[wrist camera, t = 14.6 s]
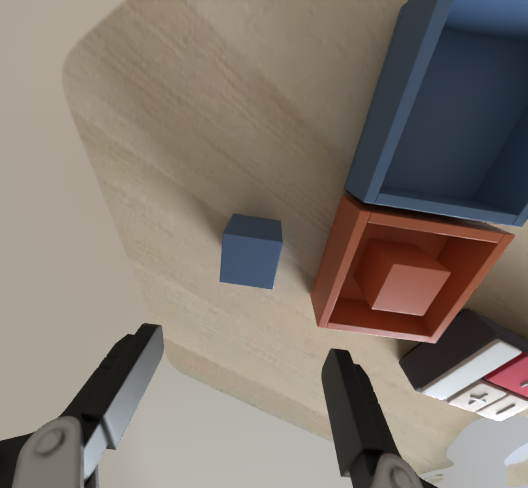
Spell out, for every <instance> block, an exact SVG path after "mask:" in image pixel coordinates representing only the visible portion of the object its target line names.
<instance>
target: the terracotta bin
mask: <svg viewBox="0 0 528 488" xmlns="http://www.w3.org/2000/svg"><path fill="white" fill-rule="evenodd" d="M514 237H515V235H514V234H511V233H509V232H506V231H504V230H501V229H499V228H496V227H494V226H492V225H489V224H487V223H484V222H482V221H478V220H472V219H466V218H459V217H453V216H447V215H441V214H434V213H428V212H422V211H416V210H410V209H403V208H397V207H391V206H385V205H378V204H372V203H366V202H363V201H361V200H360V199H359V198H356V197H350V196H344V195H342V197H341V200H340V203H339V206H338V210H337V213H336V216H335V219H334V222H333V225H332V229H331V232H330V235H329V238H328V241H327V244H326V248H325V251H324V254H323V257H322V260H321V263H320V267H319V270H318V273H317V276H316V279H315V282H314V286H313V289H312V292H311V295H310V297H311V301H312V305H313V309H314V313H315V318H316V322H317V326H318V327H321V328H328V329H335V330H343V331H350V332H357V333H364V334H371V335H379V336H386V337H393V338H400V339H407V340H415V341H422V342H429V343H436V342H437V340H438V339H439V338H440V336H441V335H442V333H443V332H444V331H445V329H446V328H447V327H448V325H449V324H450V323H451V321H452V320H453V319H454V317H455V316H456V315H457V313H458V312H459V311H460V309H461V308H462V307H463V305H464V304H465V303H466V301H467V300H468V299H469V297H470V296H471V295H472V293H473V292H474V290H475V289H476V288H477V286H478V285H479V284H480V282H481V281H482V280H483V278H484V277H485V276H486V274H487V273H488V272H489V270H490V269H491V268H492V266H493V265H494V264H495V262H496V261H497V260H498V258H499V257H500V256H501V254H502V253H503V251H504V250H505V249H506V247H507V246H508V245H509V243H510V242H511V241H512V239H513V238H514ZM369 238H372V239H379V240H385V241H392V242H398V243H405V244H411V245H416V246H418V247H419V248H420V249H422V250H423V251H424V252H425V253H427V254H428V255H429V256H431V257H432V258H433V259H435V260H436V261H437V262H439V263H440V264H441V265H443V266H444V267H445V268H447V269H448V270H449V271H450V272H451V273H450V275H449V277H448V278H447V280H446V281H445V283H444V284H443V286H442V287H441V289H440V290H439V292H438V293H437V295H436V297H435V298H434V300H433V301H432V303H431V304H430V306H429V307H428V309H427V310H426V312H425V313H424V315H423V316H420V315H413V314H406V313H399V312H392V311H385V310H378V309H371V307H370V305H369V304H368V302H367V300H366V298H365V297H364V295H363V293H362V291H361V290H360V288H359V286H358V284H357V283H356V281H355V279H354V275H355V272H356V270H357V267H358V265H359V262H360V260H361V258H362V255H363V253H364V250H365V248H366V245H367V243H368V240H369Z"/></svg>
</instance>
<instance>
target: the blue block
mask: <svg viewBox="0 0 528 488" xmlns="http://www.w3.org/2000/svg"><path fill="white" fill-rule="evenodd" d="M282 244H283V240H282V229H281V221H276V220H270V219H263V218H257V217H250V216H244V215H237V214H233V215H232V217H231V219H230V221H229V223H228V225H227V227H226V229H225V231H224V233H223V241H222V255H221V269H220V282H224V283H231V284H238V285H245V286H252V287H259V288H266V289H273V286H274V282H275V277H276V272H277V267H278V263H279V258H280V253H281V249H282Z"/></svg>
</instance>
